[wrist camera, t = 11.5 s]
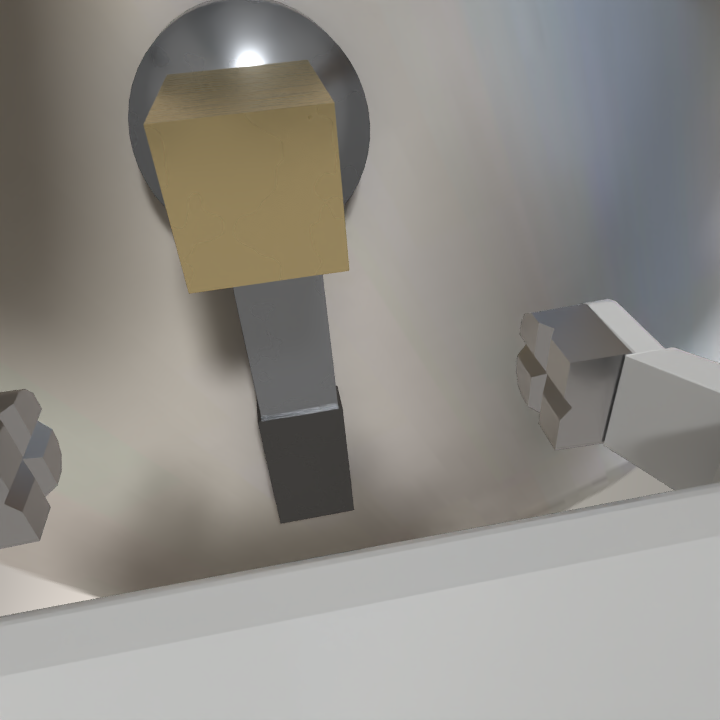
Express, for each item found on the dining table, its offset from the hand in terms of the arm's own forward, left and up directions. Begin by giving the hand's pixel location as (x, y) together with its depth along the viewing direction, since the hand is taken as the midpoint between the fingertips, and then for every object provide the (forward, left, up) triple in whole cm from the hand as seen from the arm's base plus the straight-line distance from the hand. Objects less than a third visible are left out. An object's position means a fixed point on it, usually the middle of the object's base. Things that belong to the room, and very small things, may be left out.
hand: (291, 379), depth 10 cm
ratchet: (0, +9, -18) cm, 20 cm away
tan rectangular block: (0, 0, -16) cm, 16 cm away
